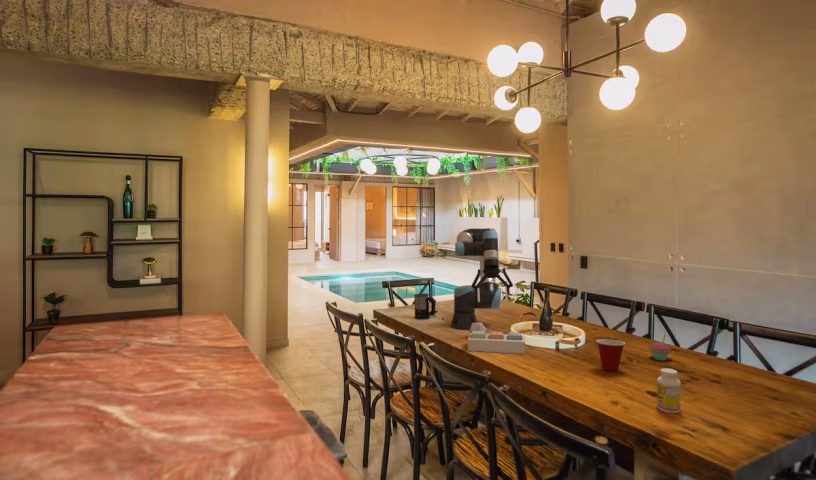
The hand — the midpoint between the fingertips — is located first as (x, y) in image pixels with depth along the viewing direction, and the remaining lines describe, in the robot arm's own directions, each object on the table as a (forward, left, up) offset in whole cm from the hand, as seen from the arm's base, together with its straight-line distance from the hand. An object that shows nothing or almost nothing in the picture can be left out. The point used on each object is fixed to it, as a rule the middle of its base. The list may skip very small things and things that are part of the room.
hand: (492, 301), depth 225 cm
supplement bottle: (+68, +58, -21) cm, 92 cm away
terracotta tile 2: (+9, +2, -17) cm, 19 cm away
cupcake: (+12, +72, -21) cm, 76 cm away
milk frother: (-53, -43, -21) cm, 72 cm away
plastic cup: (+31, +48, -21) cm, 61 cm away
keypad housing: (+9, +2, -21) cm, 23 cm away
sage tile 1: (+9, -6, -17) cm, 20 cm away
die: (-9, -8, -21) cm, 25 cm away
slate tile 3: (+9, +11, -17) cm, 22 cm away
